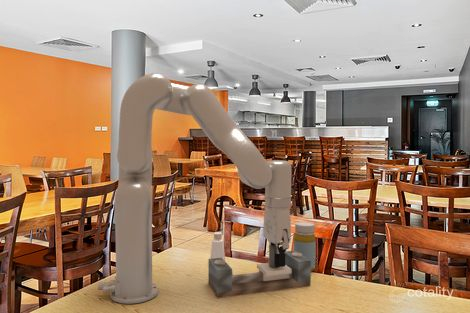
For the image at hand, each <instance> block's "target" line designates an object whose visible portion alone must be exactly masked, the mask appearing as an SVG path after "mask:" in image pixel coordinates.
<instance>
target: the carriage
mask: <svg viewBox="0 0 470 313" xmlns="http://www.w3.org/2000/svg"><path fill="white" fill-rule="evenodd" d="M275 253H276V245H270V246H269V245H268V262H264V263H257V264H256V269H257V270H258V272H262V273H263V281H270V280H279V279H287V278H289V273H292V269H291V268H289V267H288V266H287V265H285V266H284V267H275V266H274V265H275Z"/></svg>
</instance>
